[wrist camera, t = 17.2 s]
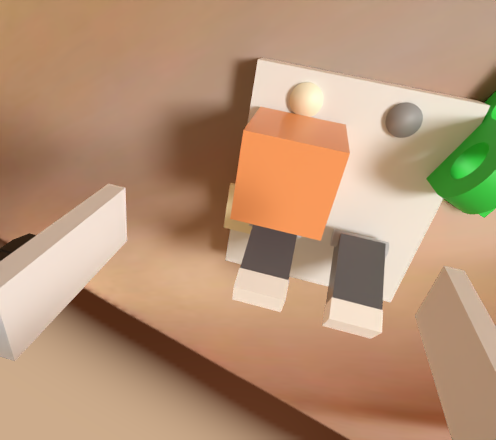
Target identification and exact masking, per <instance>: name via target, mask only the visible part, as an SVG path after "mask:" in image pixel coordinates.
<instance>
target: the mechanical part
mask: <svg viewBox="0 0 496 440" xmlns="http://www.w3.org/2000/svg"><path fill="white" fill-rule="evenodd" d="M485 104H487V105H490V108H489V110H488V112H487V114H486V115H485V117H484V119H483V121H482V123H481V124H480V125H479V126H478V127H477V128H476V129H475V130H474V131H473V132H472V133H471V134H470V135H469V136H468V137H467V138H466V139H465V140H464V141H463V142H462V143H461V144H460V145H459V146H458V147H457V148H456V149H455V150H454V151H453V152H452V153H451V154H450V155H449V156H448V157H447V158H446V159H445V160H444V161H443V162H442V163H441V164H440V165H439V166H438V167H437V168H436V169H435V170H434V171H433V172H432V173H431V174H430V175H429V176H428V177H427V178H426V179H427V181H428V182H429V183H430V185H431V186H432V188H433V189H434V190H435V192H436V193H437V194H438V195H439V196H440V197H442V198H443V199H445V200H446V201H448V202H449V203H450V204H452V205H453V206H455V207H456V208H458V209H459V210H461V211H462V212H464V213H467V214H479V215H481V216H482V217H484V218H485V217H486V216H487V215H488V214H489V213H491V212H492V211H493V210H494V209H495V208H496V91H495V92H494V93H493V94H492V95H491V96H490V97H489V98H488V99H487V101H486V102H485Z"/></svg>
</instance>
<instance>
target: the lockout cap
mask: <svg viewBox="0 0 496 440" xmlns="http://www.w3.org/2000/svg"><path fill="white" fill-rule="evenodd" d="M349 155H350V150H349V143H348V136H347V129H346V124H341V123H336V122H331V121H327V120H322V119H317V118H312V117H308V116H303V115H298V114H294V113H289V112H284V111H279V110H275V109H270V108H265V107H260V108H259V109H258V110H257V112H256V113H255V115H254V116H253V117H252V119H251V120H250V122H249V123H248V124H247V126H246V127H245V129H244V130H243V136H242V143H241V150H240V156H239V163H238V170H237V177H236V183H235V190H234V197H233V203H232V210H231V217H230V219H233V220H237V221H241V222H245V223H249V224H253V225H257V226H261V227H266V228H270V229H274V230H278V231H282V232H286V233H290V234H294V235H299V236H303V237H307V238H311V239H315V240H319V241H321V238H322V235H323V232H324V229H325V226H326V223H327V220H328V217H329V215H330V212H331V209H332V206H333V203H334V200H335V197H336V194H337V191H338V188H339V185H340V182H341V179H342V176H343V173H344V170H345V167H346V164H347V161H348V158H349Z"/></svg>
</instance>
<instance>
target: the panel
mask: <svg viewBox="0 0 496 440" xmlns="http://www.w3.org/2000/svg"><path fill="white" fill-rule="evenodd" d="M260 107H265V108H270V109H275V110H279V111H284V112H289V113H294V114H298V115H303V116H308V117H312V118H317V119H322V120H327V121H331V122H336V123H341V124H346V129H347V136H348V143H349V150H350V155H349V158H348V161H347V164H346V167H345V170H344V173H343V176H342V179H341V182H340V185H339V188H338V191H337V194H336V197H335V200H334V203H333V206H332V209H331V212H330V215H329V217H328V220H327V223H326V226H325V229H324V232H323V235H322V238H321V241H319V240H315V239H311V238H307V237H303V236H301V238H298V237H297V238H296V244H295V249H294V254H293V259H292V264H291V270H290V275H289V277H293V278H297V279H301V280H305V281H309V282H313V283H317V284H320V285H324V286H329V279H330V272H331V264H332V257H333V250H334V246H331V245H330V242H331V237H332V233H333V231H334V229H336V230H340V231H344V232H348V233H353V234H357V235H361V236H365V237H369V238H373V239H378V240H382V241H386V242H389V251H388V254H387V256H386V258H385V266H384V285H383V301H387V302H391V300H392V299H393V297H394V295H395V293H396V291H397V289H398V287H399V285H400V283H401V281H402V279H403V277H404V275H405V273H406V271H407V269H408V267H409V265H410V263H411V261H412V259H413V257H414V255H415V253H416V251H417V249H418V247H419V245H420V243H421V241H422V239H423V238H424V236H425V234H426V232H427V230H428V228H429V226H430V224H431V222H432V220H433V218H434V216H435V214H436V212H437V210H438V208H439V206H440V204H441V202H442V200H443V198H442V197H440V196H439V195H438V194H437V193H436V192H435V190H434V189H433V188H432V186H431V185H430V183H429V182H428V181H427V179H426V178H427V177H428V176H429V175H430V174H431V173H432V172H433V171H434V170H435V169H436V168H437V167H438V166H439V165H440V164H441V163H442V162H443V161H444V160H445V159H446V158H447V157H448V156H449V155H450V154H451V153H452V152H453V151H454V150H455V149H456V148H457V147H458V146H459V145H460V144H461V143H462V142H463V141H464V140H465V139H466V138H467V137H468V136H469V135H470V134H471V133H472V132H473V131H474V130H475V129H476V128H477V127H478V126H479V125H480V124H481V123H482V121H483V119H484V117H485V115H486V114H487V112H488V110H489V108H490V105H487V104H485V103H483V102H481V101H478V100H473V99H468V98H463V97H458V96H453V95H448V94H443V93H438V92H433V91H428V90H423V89H418V88H413V87H408V86H403V85H398V84H393V83H388V82H383V81H378V80H373V79H368V78H363V77H358V76H353V75H348V74H343V73H338V72H333V71H328V70H323V69H318V68H313V67H308V66H303V65H297V64H292V63H287V62H282V61H277V60H272V59H267V58H260V59H258V61H257V67H256V74H255V80H254V86H253V92H252V98H251V104H250V111H249V117H248V123H249V122H250V120H251V119H252V117H253V116H254V115H255V113H256V112H257V110H258V109H259V108H260ZM248 123H247V124H248ZM234 190H235V183H230V187H229V194H228V200H227V207H226V214H225V220H224V227H223V228H227V229H230V234H229V240H228V246H227V253H226V259H225V260H226V261H230V262H234V263H238V264H241V263H242V260H243V257H244V253H245V250H246V246H247V243H248V240H249V236H250V233H251V230H252V226H249V223H245V222H241V221H237V220H233V219H230V217H231V210H232V203H233V197H234Z"/></svg>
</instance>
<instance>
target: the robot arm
mask: <svg viewBox="0 0 496 440" xmlns="http://www.w3.org/2000/svg"><path fill="white" fill-rule="evenodd" d="M126 241H127V223H126V189H125V187H121V186H117V185H112V184H107V185H106V186H104V187H103V188H102V189H100V190H99V191H97V192H96V193H95V194H93V195H92V196H90V197H89V198H88V199H86V200H85V201H84V202H82V203H81V204H79V205H78V206H77V207H75V208H74V209H72V210H71V211H70V212H68V213H67V214H65V215H64V216H63V217H61V218H60V219H58V220H57V221H56V222H54V223H53V224H51V225H50V226H49V227H47V228H46V229H45V230H43V231H42V232H40V233H39V234H38V235H33V234H27V235H24V236H22V237H19V238H16V239H14V240H12V241H10V242H9V243H7V244H6V245H5V246H3V247H2V248H0V357H3V358H6V359H10V360H13V361H15V360H16V359H17V358H18V357H19V356H20V355H21V354H22V353H23V352H24V351H25V349H27V347H28V346H29V345H30V344H31V343H32V342H33V341H34V340H35V339H36V338H37V337H38V336H39V334H40V333H42V331H43V330H44V329H45V328H46V327H47V326H48V325H49V324H50V323H51V322H52V321H53V320H54V319H55V317H56V316H57V315H58V314H59V313H60V312H61V311H62V310H63V309H64V308H65V307H66V306H67V305H68V303H70V301H71V300H72V299H73V298H74V297H75V296H76V295H77V294H78V293H79V292H80V291H81V290H82V289H83V288H84V286H85V285H86V284H87V283H88V282H89V281H90V280H91V279H92V278H93V277H94V276H95V275H96V274H97V273H98V271H99V270H100V269H101V268H102V267H103V266H104V265H105V264H106V263H107V262H108V261H109V260H110V259H111V258H112V256H113V255H114V254H115V253H116V252H117V251H118V250H119V249H120V248H121V247H122V246H123V245H124V244H125V243H126ZM415 318H416V322H417V325H418V328H419V332H420V335H421V338H422V341H423V345H424V348H425V351H426V355H427V358H428V361H429V365H430V368H431V371H432V375H433V378H434V381H435V385H436V388H437V391H438V395H439V398H440V401H441V405H442V408H443V411H444V415H445V418H446V421H447V425H448V428H449V431H450V435H451V438H452V440H496V326H495V324H494V323H493V321H492V319H491V317H490V316H489V314H488V312H487V310H486V308H485V307H484V305H483V303H482V301H481V299H480V298H479V296H478V294H477V292H476V290H475V289H474V287H473V285H472V283H471V282H470V280H469V278H468V276H467V274H466V273H465V271H464V270H460V269H456V268H451V267H447V266H444V267H443V268H442V270H441V272H440V273H439V275H438V277H437V279H436V280H435V282H434V284H433V285H432V287H431V289H430V291H429V292H428V294H427V296H426V297H425V299H424V301H423V302H422V304H421V306H420V308H419V309H418V311H417V313H416V314H415Z"/></svg>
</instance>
